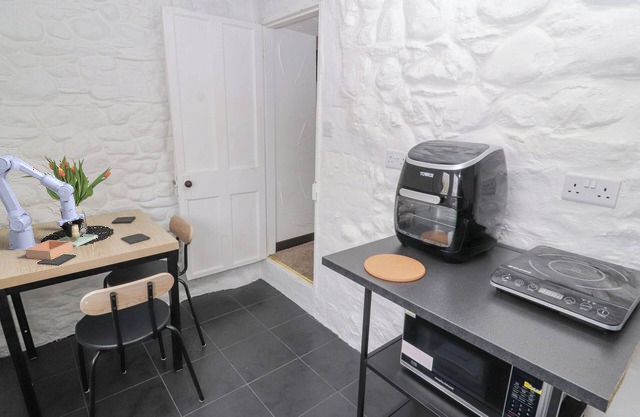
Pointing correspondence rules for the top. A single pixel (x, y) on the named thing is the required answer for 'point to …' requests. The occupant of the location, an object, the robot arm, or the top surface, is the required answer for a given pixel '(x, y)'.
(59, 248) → the salmon tray
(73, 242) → the sage tray
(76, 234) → the beech cylinder
